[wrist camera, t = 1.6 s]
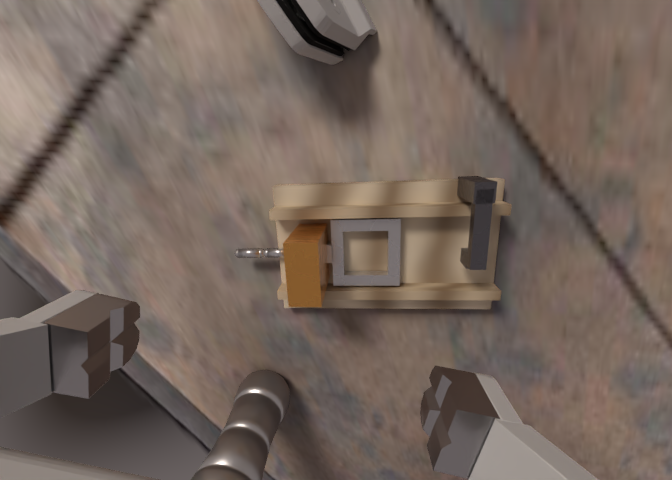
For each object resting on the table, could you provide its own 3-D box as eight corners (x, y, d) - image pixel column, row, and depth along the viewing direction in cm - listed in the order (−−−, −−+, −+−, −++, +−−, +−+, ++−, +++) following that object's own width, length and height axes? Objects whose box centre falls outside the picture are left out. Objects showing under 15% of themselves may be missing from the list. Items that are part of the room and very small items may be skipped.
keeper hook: (477, 176, 31) (497, 181, 26) (470, 254, 33) (488, 273, 28) (458, 176, 31) (474, 182, 26) (452, 255, 33) (467, 273, 29)
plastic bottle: (275, 412, 43) (204, 622, 24) (235, 383, 43) (129, 578, 23) (303, 383, 42) (252, 586, 22) (262, 353, 41) (172, 537, 22)
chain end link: (399, 216, 33) (408, 234, 26) (398, 281, 35) (406, 313, 28) (232, 219, 34) (200, 238, 28) (241, 281, 36) (213, 312, 30)
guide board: (498, 177, 32) (514, 181, 29) (485, 302, 36) (498, 318, 33) (276, 184, 34) (266, 189, 31) (287, 301, 38) (279, 316, 35)
